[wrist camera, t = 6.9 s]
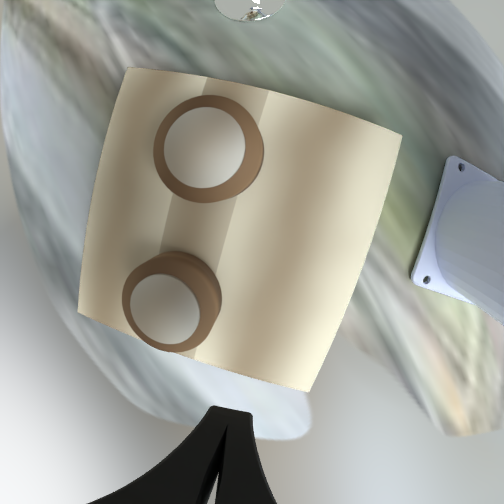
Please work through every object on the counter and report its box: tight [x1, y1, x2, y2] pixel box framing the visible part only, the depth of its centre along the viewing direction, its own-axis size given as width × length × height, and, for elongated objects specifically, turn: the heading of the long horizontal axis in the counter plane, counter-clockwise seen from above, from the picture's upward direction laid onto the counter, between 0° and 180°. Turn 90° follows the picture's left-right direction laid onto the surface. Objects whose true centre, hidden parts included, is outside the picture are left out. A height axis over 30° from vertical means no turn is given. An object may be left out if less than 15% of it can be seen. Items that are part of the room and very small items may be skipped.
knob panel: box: [78, 67, 403, 392], centre depth 16 cm, size 14×14×3 cm
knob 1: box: [153, 95, 264, 203], centre depth 14 cm, size 4×4×5 cm
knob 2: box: [122, 251, 222, 352], centre depth 16 cm, size 4×4×5 cm
